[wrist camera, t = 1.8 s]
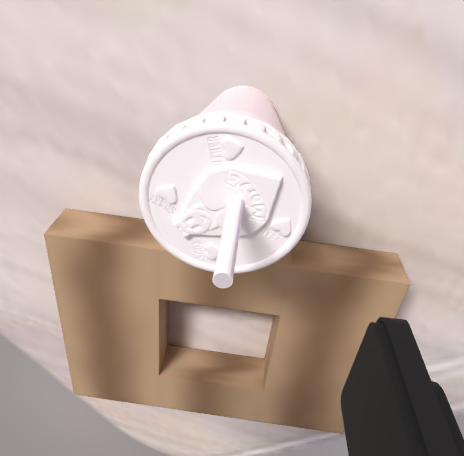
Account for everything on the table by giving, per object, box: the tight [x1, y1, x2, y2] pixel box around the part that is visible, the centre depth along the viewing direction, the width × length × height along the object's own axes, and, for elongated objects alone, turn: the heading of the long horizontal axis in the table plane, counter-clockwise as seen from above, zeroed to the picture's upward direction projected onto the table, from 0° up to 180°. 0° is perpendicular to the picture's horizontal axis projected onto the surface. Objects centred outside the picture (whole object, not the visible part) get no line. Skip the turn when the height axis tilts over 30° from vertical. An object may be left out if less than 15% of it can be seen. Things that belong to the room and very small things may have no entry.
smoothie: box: [139, 86, 312, 288], centre depth 17 cm, size 6×6×14 cm
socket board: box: [44, 209, 410, 434], centre depth 30 cm, size 22×16×3 cm
